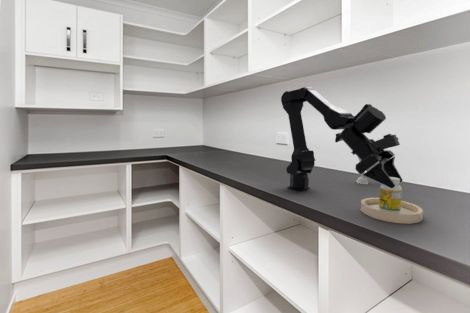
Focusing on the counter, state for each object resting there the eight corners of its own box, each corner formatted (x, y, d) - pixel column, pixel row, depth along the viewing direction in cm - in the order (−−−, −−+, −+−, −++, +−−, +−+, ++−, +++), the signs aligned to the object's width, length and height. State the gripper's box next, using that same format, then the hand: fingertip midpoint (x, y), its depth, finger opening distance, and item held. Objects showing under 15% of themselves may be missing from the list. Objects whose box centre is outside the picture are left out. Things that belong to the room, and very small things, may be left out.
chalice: (374, 184, 107) (377, 142, 104) (359, 184, 106) (362, 142, 104) (364, 180, 114) (367, 141, 111) (350, 181, 113) (352, 141, 111)
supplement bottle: (404, 213, 70) (407, 180, 68) (385, 213, 70) (388, 180, 68) (392, 207, 75) (395, 176, 74) (374, 207, 75) (377, 176, 74)
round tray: (351, 212, 73) (352, 204, 73) (372, 202, 83) (373, 195, 82) (411, 228, 62) (412, 219, 61) (428, 214, 71) (429, 206, 71)
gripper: (371, 124, 65) (418, 171, 59) (389, 124, 78) (429, 163, 72) (339, 152, 72) (379, 197, 65) (361, 147, 85) (395, 184, 79)
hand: (397, 184), depth 70 cm, fingers open, 9 cm apart
